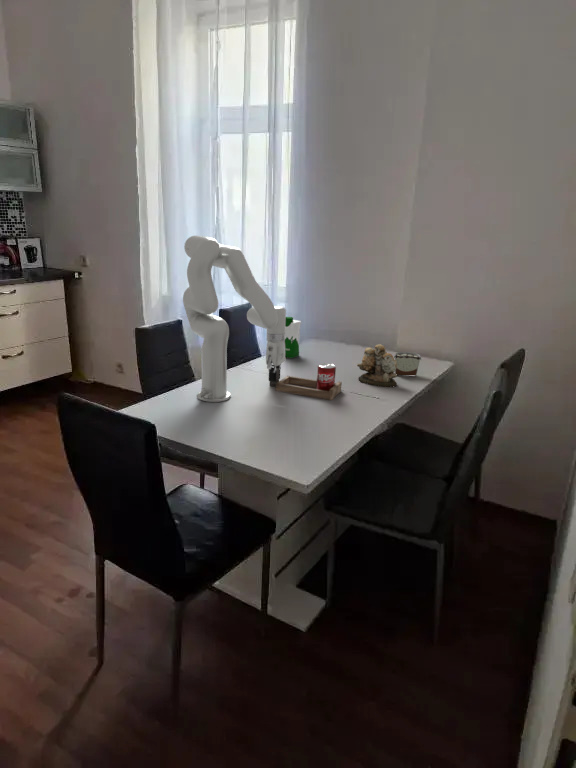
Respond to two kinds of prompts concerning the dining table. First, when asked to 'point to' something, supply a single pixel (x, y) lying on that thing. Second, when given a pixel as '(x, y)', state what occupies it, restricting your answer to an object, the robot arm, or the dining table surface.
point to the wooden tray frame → (305, 391)
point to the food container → (407, 363)
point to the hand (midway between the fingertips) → (274, 379)
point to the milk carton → (292, 337)
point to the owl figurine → (378, 367)
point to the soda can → (325, 376)
